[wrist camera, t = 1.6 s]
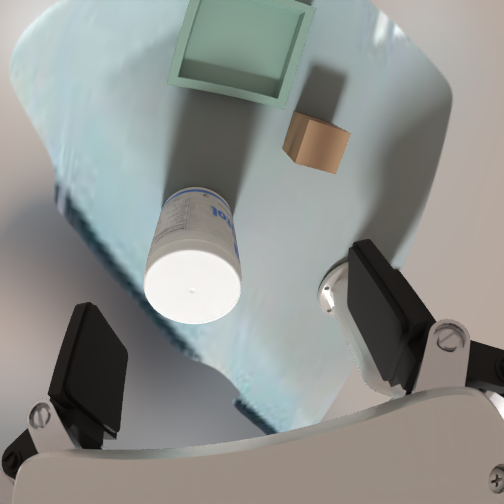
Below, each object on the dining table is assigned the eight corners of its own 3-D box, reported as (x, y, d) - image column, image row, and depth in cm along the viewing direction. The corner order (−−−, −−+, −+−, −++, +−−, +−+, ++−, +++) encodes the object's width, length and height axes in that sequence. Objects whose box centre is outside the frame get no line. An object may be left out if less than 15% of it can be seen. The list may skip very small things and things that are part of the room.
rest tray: (308, 11, 27) (316, 8, 24) (278, 106, 33) (283, 109, 31) (198, -17, 23) (198, -23, 21) (169, 83, 30) (166, 84, 28)
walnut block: (330, 122, 35) (350, 133, 30) (318, 158, 38) (335, 174, 33) (294, 111, 34) (309, 119, 29) (282, 148, 36) (294, 163, 31)
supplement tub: (246, 220, 41) (265, 294, 29) (193, 259, 44) (192, 339, 32) (198, 168, 36) (195, 227, 24) (144, 214, 39) (122, 287, 27)
